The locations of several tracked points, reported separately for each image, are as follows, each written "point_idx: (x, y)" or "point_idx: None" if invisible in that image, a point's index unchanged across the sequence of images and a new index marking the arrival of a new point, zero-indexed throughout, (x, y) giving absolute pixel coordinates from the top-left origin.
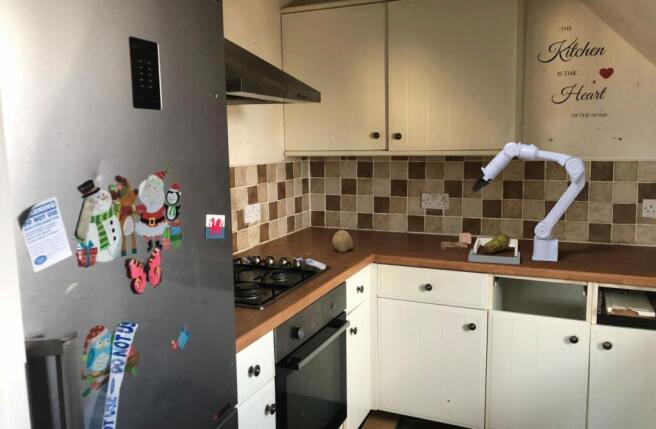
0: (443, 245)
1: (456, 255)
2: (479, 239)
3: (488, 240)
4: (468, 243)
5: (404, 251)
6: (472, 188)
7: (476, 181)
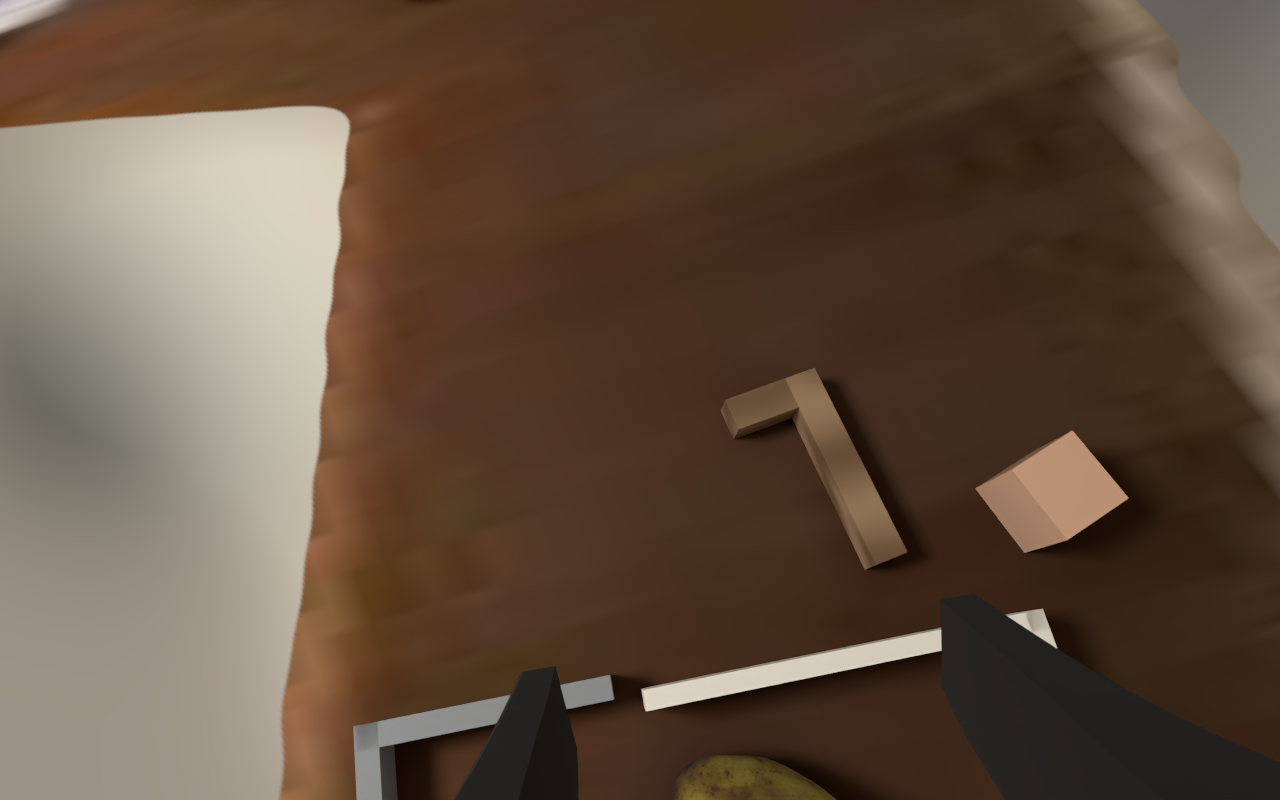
0: (729, 415)
1: (540, 577)
2: None
3: None
4: (1011, 534)
5: (523, 233)
6: (513, 695)
7: (1015, 671)
